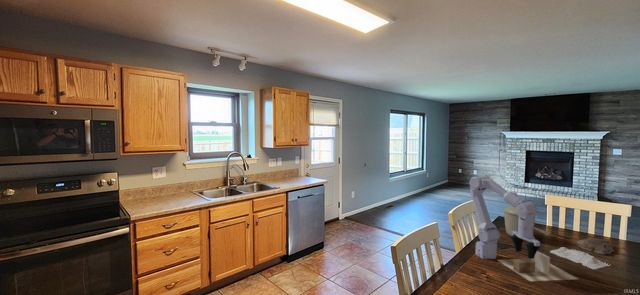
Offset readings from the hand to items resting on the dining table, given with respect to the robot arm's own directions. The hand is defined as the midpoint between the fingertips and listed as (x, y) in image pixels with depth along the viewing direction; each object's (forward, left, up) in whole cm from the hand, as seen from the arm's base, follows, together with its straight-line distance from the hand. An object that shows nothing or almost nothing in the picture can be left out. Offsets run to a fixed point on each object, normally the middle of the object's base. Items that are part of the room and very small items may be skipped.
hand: (524, 254), depth 134 cm
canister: (+34, +45, -9) cm, 57 cm away
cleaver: (+56, +51, -10) cm, 76 cm away
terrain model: (+41, +13, -10) cm, 44 cm away
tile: (+9, 0, -8) cm, 12 cm away
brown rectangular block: (0, 0, -8) cm, 8 cm away
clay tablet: (+65, +24, -10) cm, 70 cm away
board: (+7, +2, -9) cm, 11 cm away
